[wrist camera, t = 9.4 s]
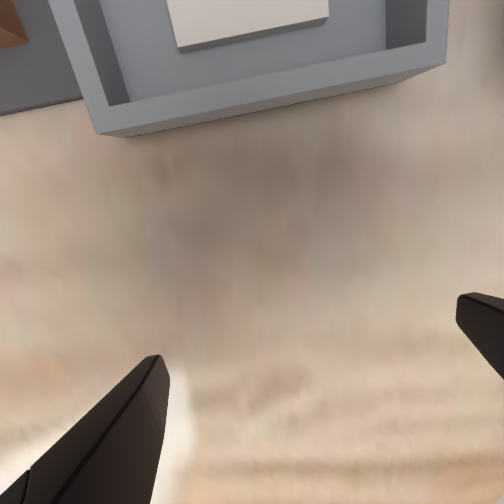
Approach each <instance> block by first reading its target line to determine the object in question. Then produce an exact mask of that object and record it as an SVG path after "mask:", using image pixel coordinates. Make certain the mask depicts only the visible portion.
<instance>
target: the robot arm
mask: <svg viewBox="0 0 504 504" xmlns="http://www.w3.org/2000/svg"><path fill="white" fill-rule="evenodd" d="M456 322H457V324H458V326H459V327H460V329H461V330H462V331H463V332H464V334H465V335H466V336H467V337H468V338H469V340H470V341H471V342H472V343H473V344H474V346H475V347H476V348H477V349H478V350H479V352H480V353H481V354H482V355H483V356H484V358H485V359H486V360H487V361H488V363H489V364H490V365H491V366H492V367H493V368H494V369H495V371H496V372H497V373H498V374H499V375H500V376H501V377H502V378H503V379H504V299H502V298H498V297H493V296H489V295H485V294H481V293H476V292H472V293H467V294H462V295H460V296H459V297H458V299H457V308H456ZM169 388H170V376H169V373H168V370H167V368H166V365H165V363H164V360H163V358H162V356H161V355H159V354H158V355H153V356H148V357H146V358H145V359H143V360H142V361H141V362H140V363H139V364H138V365H137V366H136V367H135V368H134V369H133V370H132V371H131V372H130V373H129V374H128V375H127V376H126V377H124V378H123V379H122V380H121V381H120V382H119V383H118V384H117V385H116V386H115V387H114V388H113V389H112V390H111V391H110V392H109V393H108V394H107V395H106V396H105V397H103V398H102V399H101V400H100V401H99V402H98V403H97V404H96V405H95V406H94V407H93V408H92V409H91V410H90V411H89V412H88V413H87V414H86V415H85V416H83V417H82V418H81V419H80V420H79V421H78V422H77V423H76V424H75V425H74V426H73V427H72V428H71V429H70V430H69V431H68V432H67V433H66V434H64V435H63V436H62V437H61V438H60V439H59V440H58V441H57V442H56V443H55V444H54V445H53V446H52V447H51V448H50V449H49V450H48V451H47V452H46V453H44V454H43V455H42V456H41V457H40V458H39V459H38V460H37V461H36V462H35V463H34V464H33V465H32V466H31V467H30V470H27V471H25V472H24V473H23V474H22V475H21V476H20V477H19V478H18V479H17V480H16V481H15V482H14V483H13V484H12V485H11V486H10V487H9V488H8V489H6V490H5V491H4V492H3V493H2V494H1V495H0V504H150V501H151V497H152V492H153V487H154V482H155V478H156V473H157V468H158V464H159V459H160V454H161V449H162V445H163V439H164V433H165V425H166V416H167V406H168V397H169Z"/></svg>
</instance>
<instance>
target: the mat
mask: <svg viewBox="0 0 504 504" xmlns="http://www.w3.org/2000/svg"><path fill="white" fill-rule="evenodd" d="M13 3H14V5H15V7H16V10H17V12H18V15H19V17H20V20H21V22H22V25H23V27H24V30H25V32H26V35H27V37H28V40H29V42H30V43H26V44H21V45H16V46H11V47H7V48H2V49H0V115H4V114H9V113H14V112H19V111H24V110H28V109H33V108H38V107H43V106H48V105H53V104H58V103H63V102H68V101H72V100H77V99H82V98H83V95H82V93H81V90H80V87H79V84H78V82H77V79H76V76H75V73H74V70H73V68H72V65H71V62H70V59H69V57H68V54H67V51H66V48H65V46H64V43H63V40H62V37H61V35H60V32H59V29H58V26H57V24H56V21H55V18H54V15H53V12H52V10H51V7H50V4H49V1H48V0H13Z"/></svg>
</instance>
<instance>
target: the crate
mask: <svg viewBox="0 0 504 504" xmlns="http://www.w3.org/2000/svg"><path fill="white" fill-rule="evenodd" d="M48 1H49V4H50V7H51V10H52V12H53V15H54V18H55V21H56V24H57V26H58V29H59V32H60V35H61V37H62V40H63V43H64V46H65V48H66V51H67V54H68V57H69V59H70V62H71V65H72V68H73V70H74V73H75V76H76V79H77V82H78V84H79V87H80V90H81V93H82V95H83V98H84V101H85V104H86V106H87V109H88V112H89V115H90V117H91V120H92V123H93V126H94V129H95V131H96V134H101V135H109V136H117V137H125V138H129V137H134V136H139V135H144V134H148V133H153V132H158V131H163V130H168V129H173V128H178V127H183V126H188V125H193V124H198V123H203V122H208V121H212V120H217V119H222V118H227V117H232V116H237V115H242V114H247V113H252V112H257V111H262V110H267V109H271V108H276V107H281V106H286V105H291V104H296V103H301V102H306V101H311V100H316V99H321V98H326V97H331V96H335V95H340V94H345V93H350V92H355V91H360V90H365V89H370V88H375V87H380V86H385V85H390V84H395V83H399V82H401V81H404V80H406V79H408V78H411V77H413V76H415V75H418V74H420V73H423V72H425V71H427V70H430V69H432V68H435V67H437V66H439V65H442V64H444V63H446V50H447V33H448V15H449V0H48Z"/></svg>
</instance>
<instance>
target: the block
mask: <svg viewBox="0 0 504 504" xmlns="http://www.w3.org/2000/svg"><path fill="white" fill-rule="evenodd" d="M26 43H30V42H29V40H28V37H27V35H26V32H25V30H24V27H23V25H22V22H21V20H20V17H19V15H18V12H17V10H16V7H15V5H14V3H13V0H0V49H2V48H7V47H11V46H16V45H21V44H26Z"/></svg>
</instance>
